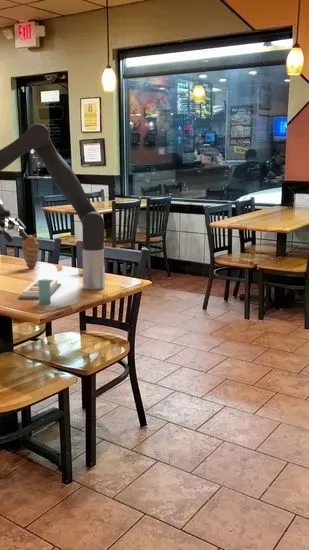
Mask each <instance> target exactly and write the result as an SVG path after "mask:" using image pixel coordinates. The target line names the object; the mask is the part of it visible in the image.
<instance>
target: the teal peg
mask: <svg viewBox="0 0 309 550" xmlns="http://www.w3.org/2000/svg"><path fill="white" fill-rule="evenodd" d="M50 280H51V279H41V280H39V299H38V304H40V305H49V304H51V298H52V296H51V297H50Z"/></svg>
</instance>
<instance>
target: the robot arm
mask: <svg viewBox="0 0 309 550" xmlns="http://www.w3.org/2000/svg"><path fill="white" fill-rule="evenodd" d="M32 150H34V151H35V152H36V154H37V155H38V156H39V158H40V159H41V161H42V162H43V164H44V166H45V168H46V171H47V172H48V174H49V176H50V178H51V179H52V181H53V183H54V185H55V186H56V187H57V189H58V190H59V192H60V194H62V196H63V197H64V199H66V201H67V202H68V203H69V205H71V207H72V208H73V210H74V211H75V213H76V215H77V216H78V219H79V220H80V222H81V225H82V244H81V245H82V288H83V289H86V290H103V289H105V286H106V282H105V281H106V279H105V278H106V274H105V269H106V268H105V262H104V261H105V255H104V254H105V251H104V250H105V247H104V246H105V220H104V218H103V216H102V215H101V214H100V213H99V212H98V211H97V210H96V208H95V207H94V206H93V205H92V203H91V202H90V201H89V199H88V197H87V194H86V192H85V190H84V188H83V186H82V184H81V182H80V180H79V179H78V177H77V175H76V174H75V172H74V171H73V169H72V168H71V166H70V165H69V164H68V163H67V161H66V160H65V159H64V158H63V157H62V156H61V155H60V153H59V152H58V150H57V149H56V147H55V145H54V144H53V142H52V140H51V137H50V130H49V129H48V127H47V126H46V125H44V124H42V123H34V124H33V123H32V125H30V126H29V127H28V128H27V130H26V131H24V133H22V134H21V135H20V136H19V137H18V138H17V139H15V140H14V141H12V142H11V143H9V144H7V145H6V146H5V147H3V148H1V149H0V172H1V171H3V170H4V169H6V168H7V167H9V166H10V165H11V164H13V163H14V162H15V161H16V160H18V159H19V158H21V157H22V156H23V155H25V154H26V153H28V152H30V151H32ZM26 228H27V227H26V225H25V224H24V223H23V222H22V220H21V219H20V218H19V217H18V216H15V218H13V217H12V216H11V212H10V210H9V209H8V208H7V206H6V205H5V203H4V201H2V199H1V198H0V236H2V237H4V239H6V241H7V242H8V243H13V242H14V238H13V236H12V235H11V233H10V232H9V231H8V230H10V231H13V232H16V233H18V234H19V236H21V238H22V239H23V241H25V240H27V238H28V234H27V233H26V231H25V230H26Z"/></svg>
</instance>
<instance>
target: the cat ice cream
mask: <svg viewBox="0 0 309 550" xmlns="http://www.w3.org/2000/svg"><path fill="white" fill-rule="evenodd" d="M27 235H28V234H27ZM36 238H37V237H36V233H34V234H29V235H28V238H27V240H23V241H22V242H21V247H22V249H21V251H22V253H23V255H22V256H23V258H24V262H25V263H26V267H27V268H29V269H35V267H36V266H37V263H38V258H39V253H40V249H39V248H40V243H39V241H37V239H36Z"/></svg>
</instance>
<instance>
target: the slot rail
mask: <svg viewBox="0 0 309 550" xmlns="http://www.w3.org/2000/svg"><path fill="white" fill-rule="evenodd" d="M39 280H42V279H37V278H36V279H35V280H34V281H33V282H31V284H29V285H28V286H27V287H25V288H24V289H23V290H22V291H21V294H20V295H19V296H18V299H19V300H39ZM49 280H50V297H51V298H52V296H53V295H54V294H55V293H56V291H58V289H59V288H60V287H61V286H62V284H61V283H58V279H49Z"/></svg>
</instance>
